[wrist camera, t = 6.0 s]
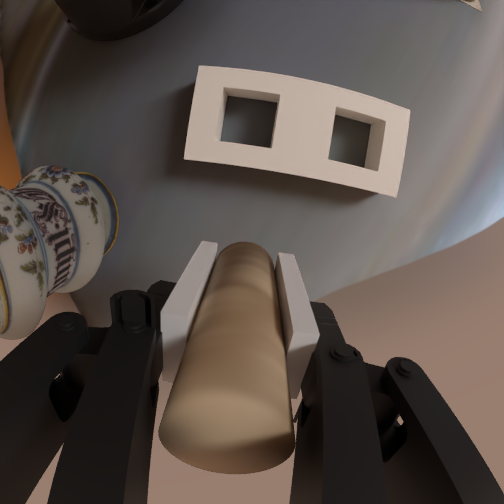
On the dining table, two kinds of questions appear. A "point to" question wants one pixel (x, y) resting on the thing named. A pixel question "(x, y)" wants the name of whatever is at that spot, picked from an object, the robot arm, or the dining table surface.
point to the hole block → (298, 128)
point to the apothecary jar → (50, 241)
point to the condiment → (473, 4)
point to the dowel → (233, 373)
